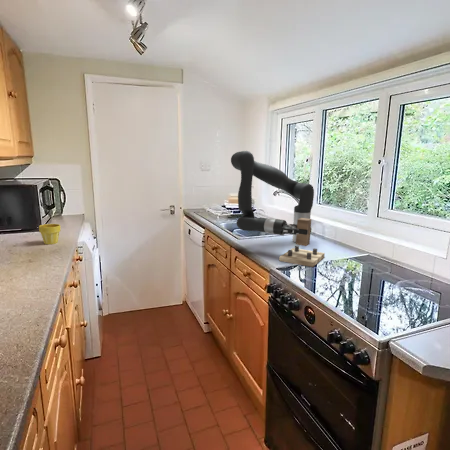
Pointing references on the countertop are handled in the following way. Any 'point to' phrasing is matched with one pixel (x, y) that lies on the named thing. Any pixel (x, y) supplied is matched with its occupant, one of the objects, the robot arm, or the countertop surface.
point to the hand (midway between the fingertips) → (309, 231)
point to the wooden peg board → (302, 256)
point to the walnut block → (302, 238)
